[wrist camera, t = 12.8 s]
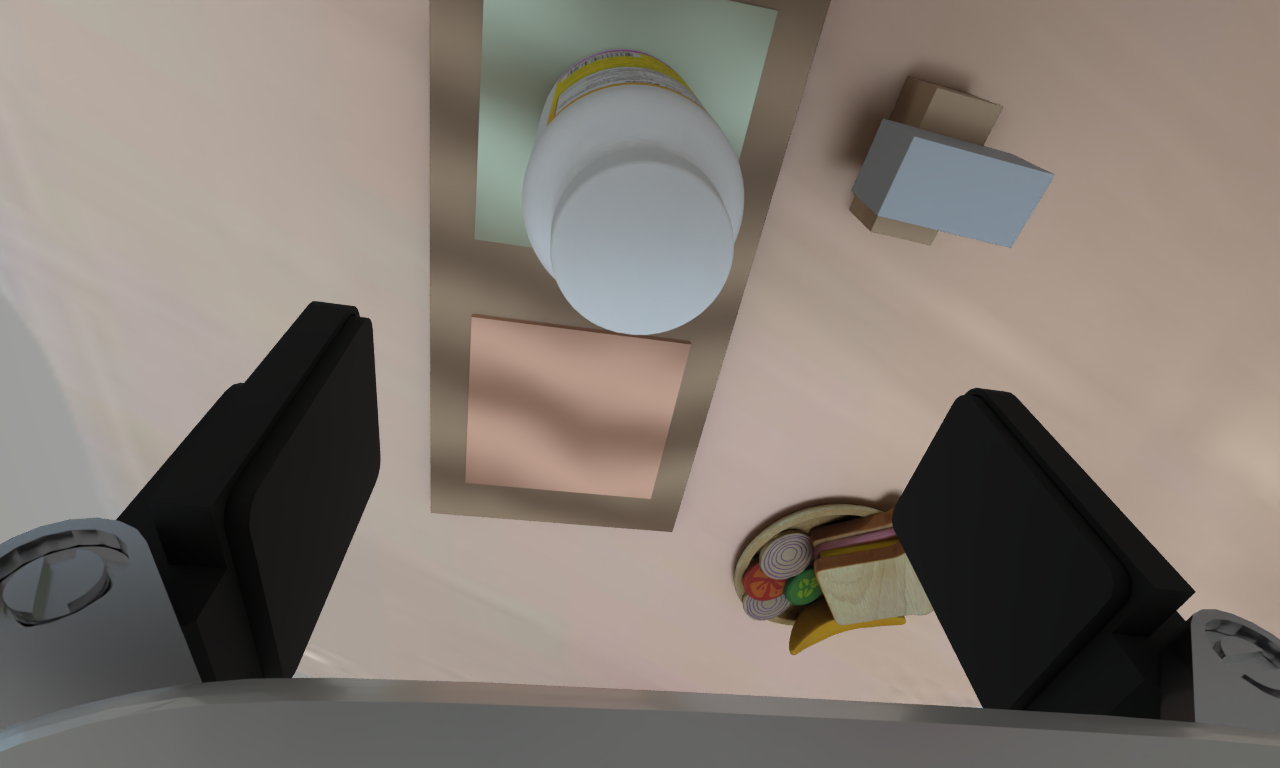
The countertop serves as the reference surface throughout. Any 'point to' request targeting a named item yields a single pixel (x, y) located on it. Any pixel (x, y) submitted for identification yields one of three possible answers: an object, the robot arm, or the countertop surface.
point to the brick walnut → (938, 115)
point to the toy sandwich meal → (829, 574)
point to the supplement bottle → (632, 194)
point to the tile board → (530, 297)
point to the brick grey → (949, 184)
